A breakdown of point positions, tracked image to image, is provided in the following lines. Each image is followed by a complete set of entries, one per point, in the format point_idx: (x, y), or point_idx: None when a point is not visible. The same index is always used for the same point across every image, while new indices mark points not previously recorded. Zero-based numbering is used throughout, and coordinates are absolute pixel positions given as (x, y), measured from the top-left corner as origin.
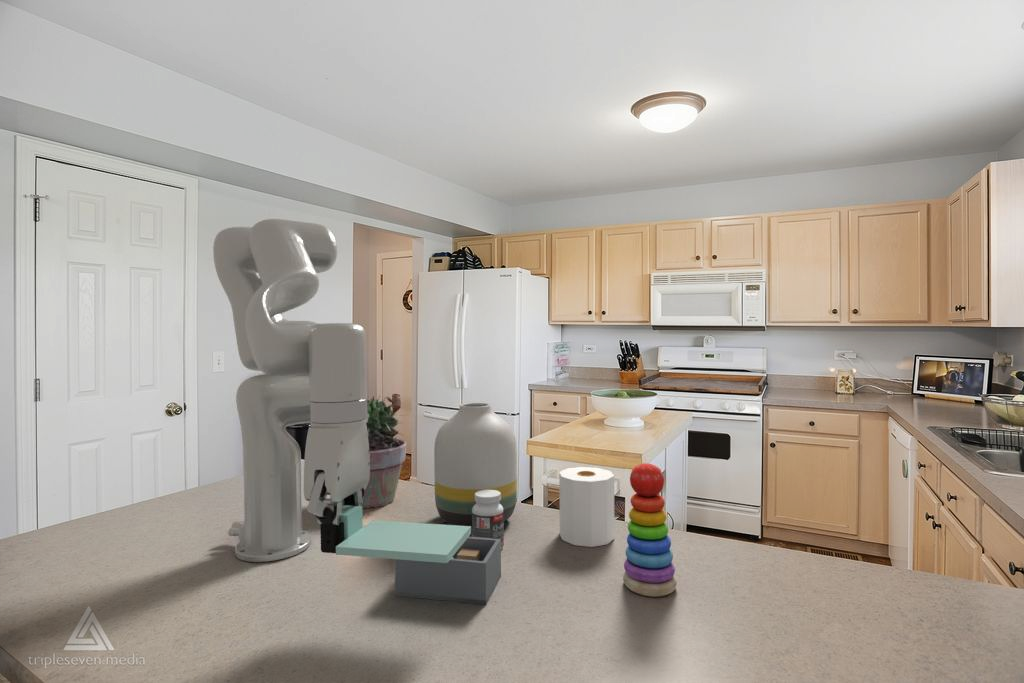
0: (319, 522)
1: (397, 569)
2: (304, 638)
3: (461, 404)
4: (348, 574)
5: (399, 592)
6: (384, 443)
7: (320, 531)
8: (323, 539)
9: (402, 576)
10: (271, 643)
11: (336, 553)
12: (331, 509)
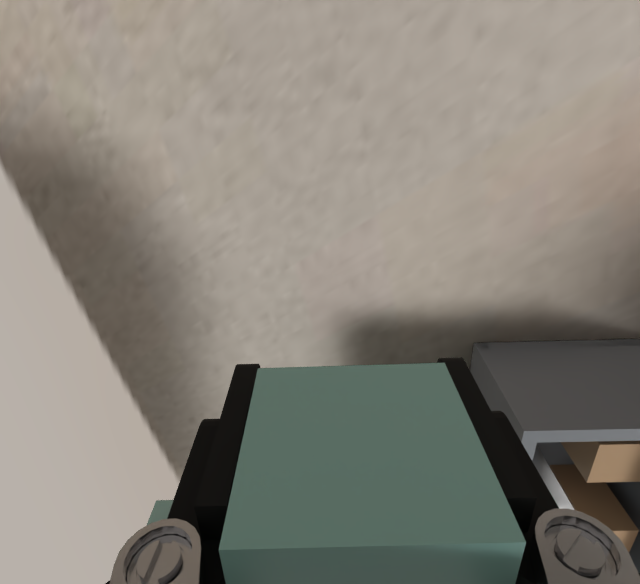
0: (130, 551)
1: (501, 401)
2: (200, 223)
3: None
4: (630, 116)
5: (474, 359)
6: None
7: (213, 445)
8: (192, 451)
9: (491, 399)
10: (141, 142)
11: (153, 508)
12: (372, 565)
